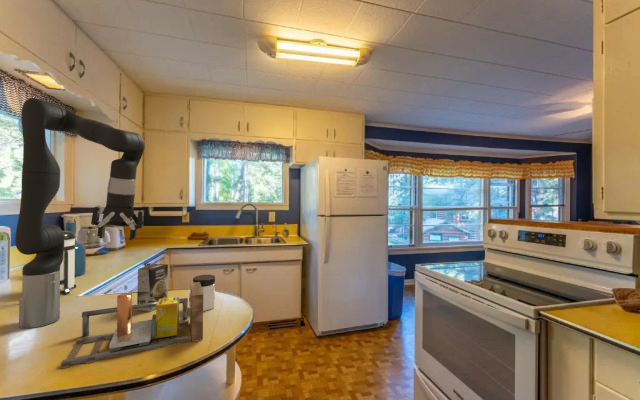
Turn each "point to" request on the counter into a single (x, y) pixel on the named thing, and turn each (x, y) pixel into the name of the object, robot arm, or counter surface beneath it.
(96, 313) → the handrail
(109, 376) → the counter surface
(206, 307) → the jar
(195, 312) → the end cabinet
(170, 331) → the supplement box
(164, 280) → the coffee box
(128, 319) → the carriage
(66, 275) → the coffee press
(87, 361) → the track
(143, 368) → the counter surface
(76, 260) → the teal bottle
